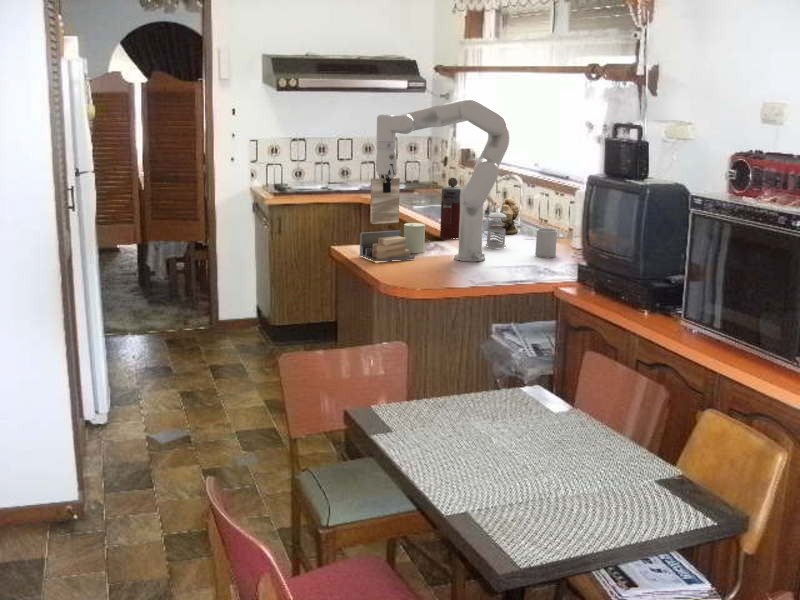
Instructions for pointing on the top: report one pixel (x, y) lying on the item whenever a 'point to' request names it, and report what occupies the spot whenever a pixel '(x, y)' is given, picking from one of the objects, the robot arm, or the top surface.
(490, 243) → the french press
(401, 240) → the offcut top
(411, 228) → the can
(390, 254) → the offcut bottom
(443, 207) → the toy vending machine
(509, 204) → the tan bust sculpture
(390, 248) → the offcut middle
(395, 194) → the birch panel
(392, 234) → the steel rack
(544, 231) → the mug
